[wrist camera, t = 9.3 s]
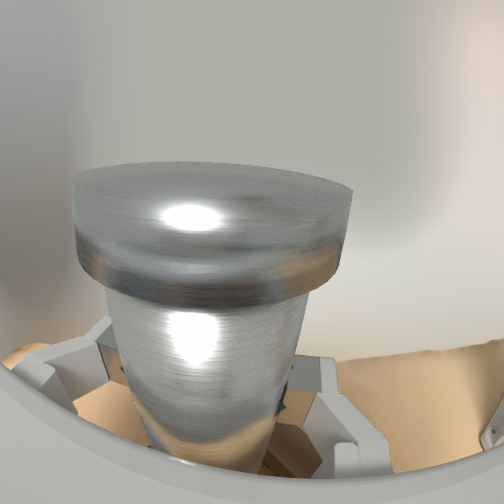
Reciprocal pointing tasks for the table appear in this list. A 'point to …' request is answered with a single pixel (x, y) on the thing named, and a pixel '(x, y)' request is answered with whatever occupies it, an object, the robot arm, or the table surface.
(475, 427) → the table surface
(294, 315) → the steel plug
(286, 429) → the walnut socket block
